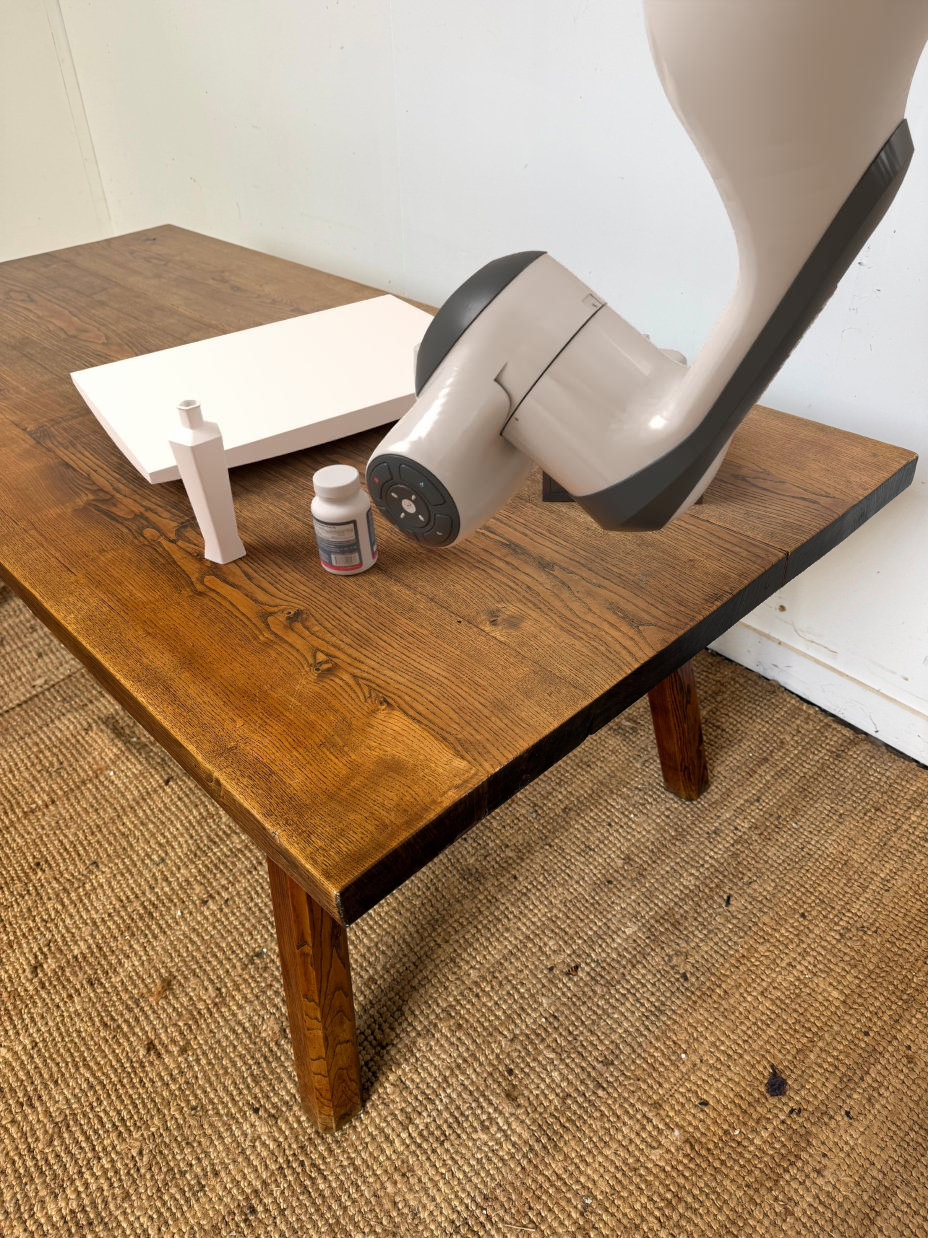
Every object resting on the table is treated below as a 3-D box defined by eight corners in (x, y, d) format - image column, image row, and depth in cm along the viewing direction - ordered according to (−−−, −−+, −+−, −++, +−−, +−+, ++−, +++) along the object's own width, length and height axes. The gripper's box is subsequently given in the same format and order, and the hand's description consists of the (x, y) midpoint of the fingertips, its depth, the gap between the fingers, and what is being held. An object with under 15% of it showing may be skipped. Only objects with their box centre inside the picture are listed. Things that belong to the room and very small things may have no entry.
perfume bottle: (261, 546, 84) (228, 397, 74) (229, 569, 81) (190, 417, 71) (226, 534, 86) (190, 387, 76) (193, 556, 83) (151, 407, 74)
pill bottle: (350, 538, 84) (338, 454, 78) (389, 557, 81) (379, 471, 76) (309, 563, 81) (292, 478, 75) (348, 583, 78) (334, 496, 73)
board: (392, 326, 129) (389, 293, 126) (521, 397, 107) (520, 360, 104) (82, 408, 111) (70, 372, 108) (160, 514, 89) (148, 473, 86)
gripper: (660, 379, 58) (715, 311, 67) (394, 342, 66) (476, 286, 75) (652, 465, 62) (705, 389, 71) (402, 420, 70) (480, 357, 79)
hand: (586, 335), depth 73 cm, fingers open, 8 cm apart
